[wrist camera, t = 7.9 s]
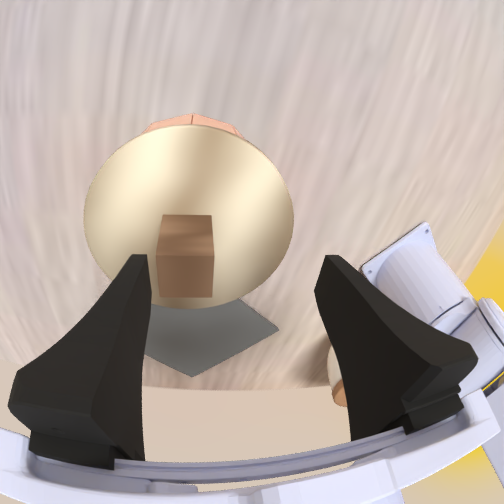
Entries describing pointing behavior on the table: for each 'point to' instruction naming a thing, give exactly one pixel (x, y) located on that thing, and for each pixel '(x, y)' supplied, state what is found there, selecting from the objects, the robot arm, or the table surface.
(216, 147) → the lid
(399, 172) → the table surface
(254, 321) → the mat
